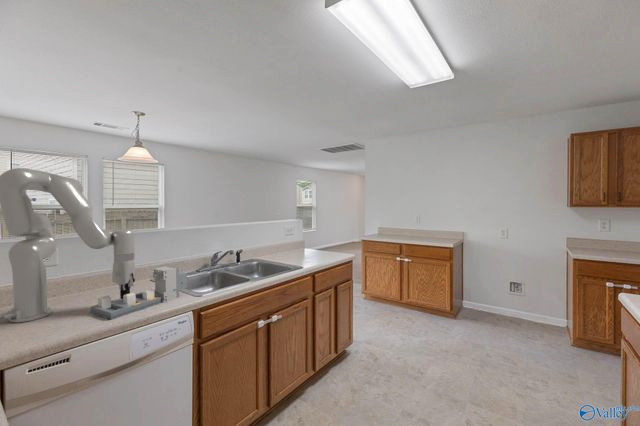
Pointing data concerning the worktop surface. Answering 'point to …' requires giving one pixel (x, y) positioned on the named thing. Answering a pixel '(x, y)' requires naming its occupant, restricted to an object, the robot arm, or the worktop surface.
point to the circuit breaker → (169, 282)
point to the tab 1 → (104, 302)
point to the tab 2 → (129, 299)
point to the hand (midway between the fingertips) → (125, 297)
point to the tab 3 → (148, 294)
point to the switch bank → (124, 307)
